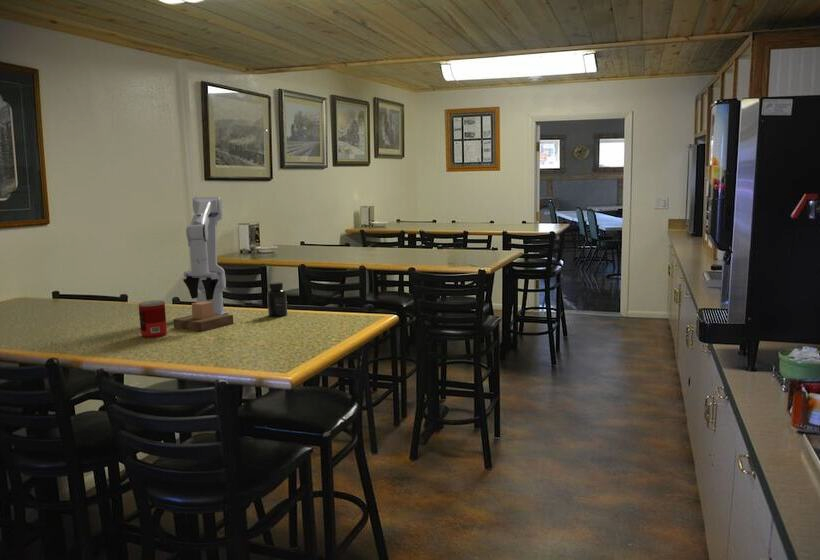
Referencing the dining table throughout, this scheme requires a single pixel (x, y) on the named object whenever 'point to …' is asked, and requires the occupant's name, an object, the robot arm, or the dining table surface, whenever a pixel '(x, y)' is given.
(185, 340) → the dining table surface
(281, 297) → the supplement bottle
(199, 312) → the terracotta cube
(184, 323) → the walnut base
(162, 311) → the canned food
